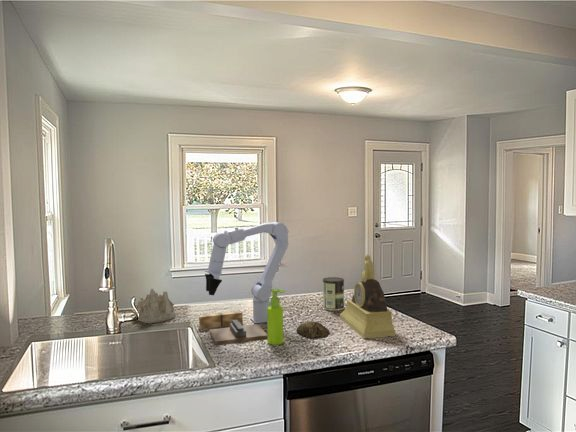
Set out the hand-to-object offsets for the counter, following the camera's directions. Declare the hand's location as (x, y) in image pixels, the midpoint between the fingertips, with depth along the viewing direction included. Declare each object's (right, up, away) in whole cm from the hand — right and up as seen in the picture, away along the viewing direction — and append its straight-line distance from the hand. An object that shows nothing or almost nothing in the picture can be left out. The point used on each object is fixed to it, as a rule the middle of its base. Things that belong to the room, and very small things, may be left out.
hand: (209, 293), depth 181 cm
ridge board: (+13, -15, -11) cm, 22 cm away
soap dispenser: (+29, -15, -19) cm, 38 cm away
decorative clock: (+65, -14, -2) cm, 67 cm away
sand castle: (-27, -14, +16) cm, 35 cm away
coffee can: (+55, -12, +28) cm, 63 cm away
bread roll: (+43, -15, -9) cm, 46 cm away
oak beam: (+4, -14, +2) cm, 15 cm away
